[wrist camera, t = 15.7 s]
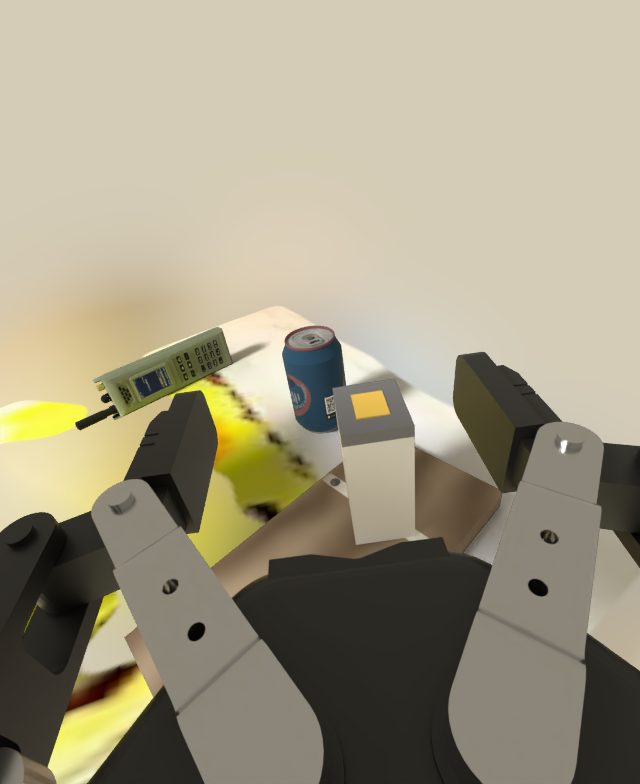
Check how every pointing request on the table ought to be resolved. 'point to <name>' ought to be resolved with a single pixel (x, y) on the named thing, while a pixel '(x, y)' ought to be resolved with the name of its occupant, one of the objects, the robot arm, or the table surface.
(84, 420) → the handheld radio
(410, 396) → the table surface
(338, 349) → the soda can
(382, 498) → the white tall block
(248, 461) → the table surface
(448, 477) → the subfloor panel
